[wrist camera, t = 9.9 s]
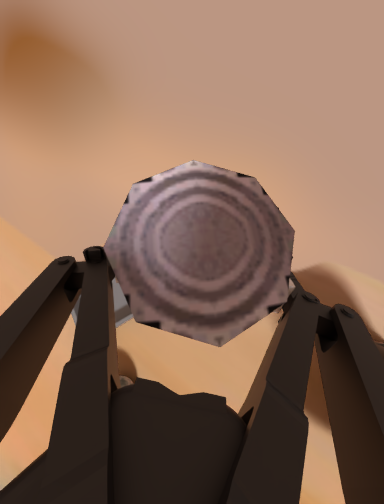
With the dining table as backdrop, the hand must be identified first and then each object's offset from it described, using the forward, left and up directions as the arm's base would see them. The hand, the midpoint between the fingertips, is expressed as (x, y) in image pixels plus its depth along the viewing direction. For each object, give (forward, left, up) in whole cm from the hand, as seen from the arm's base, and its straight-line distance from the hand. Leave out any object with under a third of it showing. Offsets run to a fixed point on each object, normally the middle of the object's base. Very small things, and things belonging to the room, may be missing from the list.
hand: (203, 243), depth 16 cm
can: (-2, +1, -5) cm, 5 cm away
